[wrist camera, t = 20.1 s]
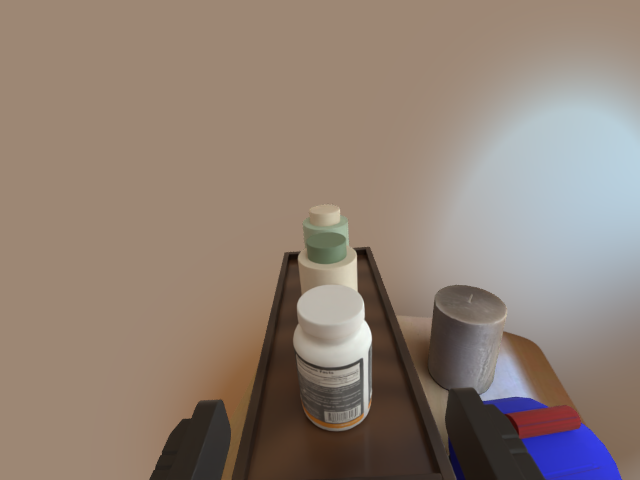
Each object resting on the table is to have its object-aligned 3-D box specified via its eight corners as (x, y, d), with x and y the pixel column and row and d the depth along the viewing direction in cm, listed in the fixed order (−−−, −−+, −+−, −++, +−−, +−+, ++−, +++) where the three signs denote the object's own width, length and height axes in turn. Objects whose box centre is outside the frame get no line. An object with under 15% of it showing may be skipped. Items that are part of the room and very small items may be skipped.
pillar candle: (462, 344, 55) (473, 272, 49) (507, 386, 46) (527, 305, 40) (415, 358, 53) (421, 285, 47) (454, 406, 44) (466, 323, 38)
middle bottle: (344, 347, 30) (339, 257, 26) (294, 330, 33) (284, 246, 29) (366, 313, 35) (365, 232, 31) (321, 301, 38) (315, 225, 34)
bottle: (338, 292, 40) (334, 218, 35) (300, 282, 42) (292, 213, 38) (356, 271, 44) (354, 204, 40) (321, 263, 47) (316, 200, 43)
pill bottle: (323, 365, 28) (315, 273, 24) (381, 388, 26) (383, 289, 22) (288, 415, 24) (271, 313, 20) (354, 450, 21) (350, 340, 17)
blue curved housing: (436, 459, 38) (448, 370, 32) (520, 434, 40) (547, 346, 34) (513, 602, 27) (553, 507, 21) (624, 557, 29) (691, 459, 23)
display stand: (432, 622, 26) (459, 486, 18) (271, 628, 26) (226, 497, 18) (370, 342, 57) (369, 246, 49) (296, 346, 57) (284, 252, 49)
